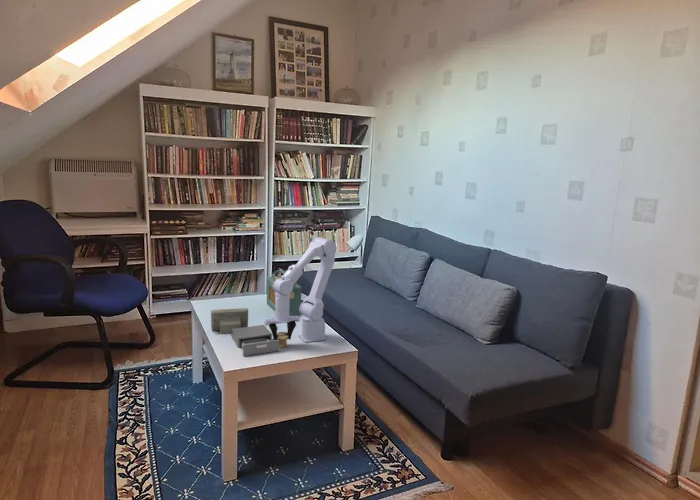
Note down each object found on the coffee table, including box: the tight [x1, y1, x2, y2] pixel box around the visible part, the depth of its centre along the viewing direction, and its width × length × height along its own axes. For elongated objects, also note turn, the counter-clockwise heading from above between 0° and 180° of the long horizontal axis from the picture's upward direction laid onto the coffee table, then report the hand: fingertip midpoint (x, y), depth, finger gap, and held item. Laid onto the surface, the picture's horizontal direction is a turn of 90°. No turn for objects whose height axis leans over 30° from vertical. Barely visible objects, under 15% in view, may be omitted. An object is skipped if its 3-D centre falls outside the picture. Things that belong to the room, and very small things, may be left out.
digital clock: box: [210, 307, 249, 335], centre depth 209 cm, size 16×9×11 cm, turn 95°
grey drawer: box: [240, 337, 280, 357], centre depth 191 cm, size 14×12×4 cm
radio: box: [266, 269, 302, 316], centre depth 240 cm, size 26×11×20 cm, turn 27°
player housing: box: [231, 324, 273, 349], centre depth 199 cm, size 14×12×4 cm
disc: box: [277, 331, 289, 341], centre depth 194 cm, size 5×5×2 cm
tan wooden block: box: [279, 339, 288, 349], centre depth 194 cm, size 3×3×4 cm
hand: (282, 339), depth 194 cm, fingers closed on disc, 5 cm apart
